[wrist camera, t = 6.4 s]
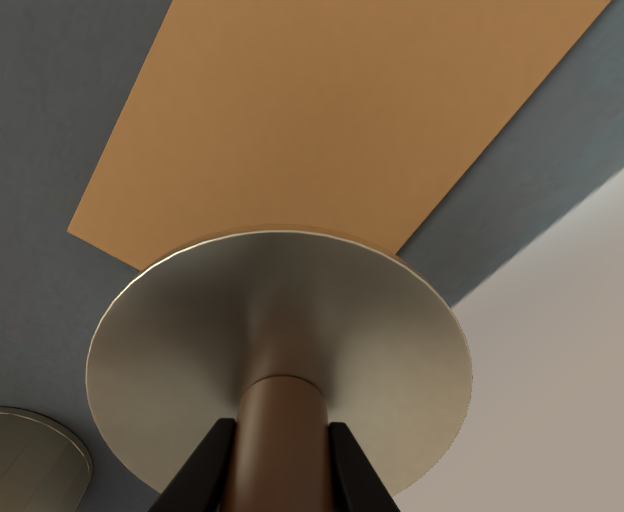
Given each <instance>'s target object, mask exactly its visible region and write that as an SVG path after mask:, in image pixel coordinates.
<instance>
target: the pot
mask: <svg viewBox="0 0 624 512" xmlns="http://www.w3.org/2000/svg"><path fill="white" fill-rule="evenodd" d="M92 474H93V464H92V459H91V456H90V454H89V452H88V450H87V448H86V447H85V446H84V444H83V443H82V442H81V441H80V440H79V439H78V438H77V436H75V435H74V434H73V433H72V432H71V431H70V430H68V429H67V428H65V427H64V426H62V425H61V424H59V423H57V422H55V421H53V420H51V419H49V418H47V417H45V416H42V415H39V414H37V413H34V412H30V411H26V410H22V409H17V408H10V407H0V512H75V510H76V508H77V506H78V505H79V503H80V501H81V499H82V497H83V495H84V493H85V491H86V488H87V486H88V484H89V482H90V481H91V478H92Z"/></svg>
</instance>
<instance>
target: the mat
mask: <svg viewBox="0 0 624 512" xmlns="http://www.w3.org/2000/svg"><path fill="white" fill-rule="evenodd" d="M610 1H611V0H173V2H172V4H171V6H170V8H169V10H168V12H167V15H166V17H165V19H164V21H163V23H162V25H161V28H160V30H159V32H158V34H157V36H156V38H155V41H154V43H153V45H152V47H151V49H150V51H149V54H148V56H147V58H146V60H145V62H144V64H143V67H142V69H141V71H140V73H139V75H138V78H137V80H136V82H135V84H134V86H133V88H132V91H131V93H130V95H129V97H128V99H127V101H126V104H125V106H124V108H123V110H122V112H121V114H120V117H119V119H118V121H117V123H116V125H115V127H114V130H113V132H112V134H111V136H110V138H109V140H108V143H107V145H106V147H105V149H104V151H103V153H102V156H101V158H100V160H99V162H98V164H97V166H96V169H95V171H94V173H93V175H92V177H91V180H90V182H89V184H88V186H87V188H86V190H85V193H84V195H83V197H82V199H81V201H80V203H79V206H78V208H77V210H76V212H75V214H74V216H73V219H72V221H71V223H70V225H69V227H68V229H67V232H69V233H71V234H73V235H75V236H77V237H78V238H80V239H82V240H84V241H86V242H88V243H90V244H92V245H93V246H95V247H97V248H99V249H101V250H103V251H105V252H107V253H108V254H110V255H112V256H114V257H116V258H118V259H120V260H122V261H123V262H125V263H127V264H129V265H131V266H133V267H135V268H136V269H138V270H140V271H142V270H143V269H144V268H145V267H147V266H148V265H149V264H151V263H152V262H153V261H155V260H156V259H157V258H159V257H160V256H162V255H164V254H166V253H167V252H169V251H171V250H173V249H175V248H176V247H178V246H180V245H182V244H184V243H187V242H189V241H192V240H194V239H197V238H199V237H202V236H205V235H207V234H211V233H215V232H219V231H223V230H227V229H231V228H235V227H242V226H250V225H259V224H301V225H308V226H316V227H323V228H328V229H332V230H336V231H340V232H343V233H347V234H351V235H354V236H357V237H359V238H362V239H364V240H366V241H369V242H371V243H374V244H376V245H379V246H381V247H382V248H384V249H386V250H388V251H389V252H391V253H393V254H396V253H397V251H398V250H399V249H400V248H401V247H402V246H403V244H404V243H405V242H406V241H407V240H408V239H409V237H410V236H411V235H412V234H413V233H414V231H415V230H416V229H417V228H418V227H419V226H420V224H421V223H422V222H423V221H424V220H425V219H426V217H427V216H428V215H429V214H430V213H431V212H432V210H433V209H434V208H435V207H436V206H437V204H438V203H439V202H440V201H441V200H442V199H443V197H444V196H445V195H446V194H447V193H448V192H449V190H450V189H451V188H452V187H453V186H454V185H455V183H456V182H457V181H458V180H459V179H460V177H461V176H462V175H463V174H464V173H465V172H466V170H467V169H468V168H469V167H470V166H471V165H472V163H473V162H474V161H475V160H476V159H477V158H478V156H479V155H480V154H481V153H482V152H483V150H484V149H485V148H486V147H487V146H488V145H489V143H490V142H491V141H492V140H493V139H494V138H495V136H496V135H497V134H498V133H499V132H500V130H501V129H502V128H503V127H504V126H505V125H506V123H507V122H508V121H509V120H510V119H511V118H512V116H513V115H514V114H515V113H516V112H517V111H518V109H519V108H520V107H521V106H522V105H523V103H524V102H525V101H526V100H527V99H528V98H529V96H530V95H531V94H532V93H533V92H534V91H535V89H536V88H537V87H538V86H539V85H540V84H541V82H542V81H543V80H544V79H545V78H546V76H547V75H548V74H549V73H550V72H551V71H552V69H553V68H554V67H555V66H556V65H557V64H558V62H559V61H560V60H561V59H562V58H563V57H564V55H565V54H566V53H567V52H568V51H569V49H570V48H571V47H572V46H573V45H574V44H575V42H576V41H577V40H578V39H579V38H580V37H581V35H582V34H583V33H584V32H585V31H586V29H587V28H588V27H589V26H590V25H591V24H592V22H593V21H594V20H595V19H596V18H597V17H598V15H599V14H600V13H601V12H602V11H603V10H604V8H605V7H606V6H607V5H608V4H609V2H610Z"/></svg>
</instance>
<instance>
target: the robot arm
mask: <svg viewBox="0 0 624 512" xmlns="http://www.w3.org/2000/svg"><path fill="white" fill-rule="evenodd" d="M235 424H236V423H235V419H234V418H219V419H218V420H217V421H216V422H215V424H214V425H213V426H212V428H211V429H210V430H209V432H208V433H207V434H206V435H205V437H204V438H203V439H202V441H201V442H200V443H199V445H198V446H197V447H196V449H195V450H194V451H193V453H192V454H191V455H190V456H189V458H188V459H187V460H186V462H185V463H184V464H183V466H182V467H181V468H180V470H179V471H178V472H177V474H176V475H175V476H174V477H173V479H172V480H171V481H170V483H169V484H168V485H167V487H166V488H165V489H164V491H163V492H162V493H161V495H160V496H159V497H158V498H157V500H156V501H155V502H154V504H153V505H152V506H151V508H150V509H149V510H148V512H218V510H219V505H220V500H221V495H222V490H223V485H224V480H225V475H226V470H227V465H228V460H229V455H230V450H231V445H232V439H233V434H234V429H235ZM329 437H330V449H331V460H332V472H333V483H334V494H335V505H336V512H400V510H399V509H398V507H397V505H396V504H395V502H394V500H393V499H392V497H391V495H390V494H389V492H388V491H387V489H386V487H385V486H384V484H383V483H382V481H381V479H380V478H379V476H378V474H377V473H376V471H375V470H374V468H373V466H372V465H371V463H370V461H369V460H368V458H367V457H366V455H365V453H364V452H363V450H362V449H361V447H360V445H359V444H358V442H357V440H356V439H355V437H354V436H353V434H352V432H351V431H350V429H349V427H348V426H347V424H346V423H344V422H330V424H329Z"/></svg>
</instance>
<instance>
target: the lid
mask: <svg viewBox="0 0 624 512" xmlns="http://www.w3.org/2000/svg"><path fill="white" fill-rule="evenodd" d="M472 379H473V376H472V365H471V356H470V352H469V348H468V345H467V341H466V337H465V335H464V333H463V331H462V329H461V327H460V324H459V322H458V320H457V318H456V317H455V315H454V314H453V312H452V311H451V309H450V308H449V306H448V305H447V303H446V302H445V300H444V299H443V298H442V296H441V295H440V293H439V292H438V291H437V290H436V289H435V288H434V287H433V285H432V284H431V283H430V282H429V281H428V280H427V279H426V278H425V277H424V276H423V275H422V274H421V273H420V272H418V271H417V270H416V269H414V268H413V267H412V266H411V265H409V264H408V263H407V262H406V261H404V260H403V259H402V258H400V257H398V256H396V255H395V254H393V253H391V252H389V251H388V250H386V249H384V248H382V247H381V246H379V245H376V244H374V243H371V242H369V241H366V240H364V239H362V238H359V237H357V236H354V235H351V234H347V233H343V232H340V231H336V230H332V229H328V228H323V227H316V226H308V225H301V224H259V225H250V226H242V227H235V228H231V229H227V230H223V231H219V232H215V233H211V234H207V235H205V236H202V237H199V238H197V239H194V240H192V241H189V242H187V243H184V244H182V245H180V246H178V247H176V248H175V249H173V250H171V251H169V252H167V253H166V254H164V255H162V256H160V257H159V258H157V259H156V260H155V261H153V262H152V263H151V264H149V265H148V266H147V267H145V268H144V269H143V270H142V271H140V272H139V273H138V274H137V275H136V276H135V277H134V278H133V279H132V280H131V281H130V282H129V283H128V284H127V285H126V286H125V287H124V289H123V290H122V291H121V292H120V293H119V294H118V295H117V296H116V297H115V298H114V300H113V301H112V303H111V304H110V306H109V307H108V309H107V310H106V312H105V313H104V314H103V316H102V317H101V319H100V321H99V324H98V326H97V328H96V330H95V333H94V335H93V337H92V340H91V344H90V348H89V352H88V357H87V363H86V389H87V397H88V402H89V406H90V409H91V412H92V415H93V419H94V421H95V423H96V425H97V427H98V429H99V431H100V433H101V435H102V437H103V439H104V440H105V442H106V443H107V444H108V446H109V447H110V449H111V450H112V452H113V453H114V454H115V455H116V456H117V458H118V459H119V460H120V461H121V462H122V463H123V464H124V465H125V466H126V467H127V468H128V469H129V470H130V471H131V472H132V473H133V474H135V475H136V476H137V477H138V478H139V479H140V480H142V481H143V482H144V483H146V484H147V485H149V486H150V487H152V488H153V489H155V490H156V491H158V492H159V493H162V492H163V491H164V489H165V488H166V487H167V485H168V484H169V483H170V481H171V480H172V479H173V477H174V476H175V475H176V474H177V472H178V471H179V470H180V468H181V467H182V466H183V464H184V463H185V462H186V460H187V459H188V458H189V456H190V455H191V454H192V453H193V451H194V450H195V449H196V447H197V446H198V445H199V443H200V442H201V441H202V439H203V438H204V437H205V435H206V434H207V433H208V432H209V430H210V429H211V428H212V426H213V425H214V424H215V422H216V421H217V420H218V419H219V418H234V419H235V423H236V424H235V429H234V434H233V439H232V445H231V450H230V455H229V460H228V465H227V470H226V475H225V480H224V485H223V490H222V495H221V500H220V505H219V510H218V512H336V505H335V494H334V483H333V472H332V460H331V449H330V437H329V424H330V422H344V423H346V424H347V426H348V427H349V429H350V431H351V432H352V434H353V436H354V437H355V439H356V440H357V442H358V444H359V445H360V447H361V449H362V450H363V452H364V453H365V455H366V457H367V458H368V460H369V461H370V463H371V465H372V466H373V468H374V470H375V471H376V473H377V474H378V476H379V478H380V479H381V481H382V483H383V484H384V486H385V487H386V489H387V491H388V492H389V494H390V495H391V497H393V496H395V495H396V494H398V493H400V492H401V491H403V490H405V489H406V488H408V487H409V486H411V485H412V484H413V483H414V482H416V481H417V480H418V479H420V478H421V477H422V476H423V475H425V474H426V473H427V472H428V471H429V470H430V469H431V468H432V467H433V466H434V465H435V464H436V463H437V462H438V461H439V460H440V459H441V457H442V456H443V455H444V454H445V452H446V451H447V450H448V449H449V447H450V446H451V444H452V443H453V441H454V439H455V438H456V436H457V435H458V433H459V431H460V429H461V426H462V424H463V422H464V419H465V417H466V414H467V410H468V407H469V403H470V399H471V391H472Z"/></svg>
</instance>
